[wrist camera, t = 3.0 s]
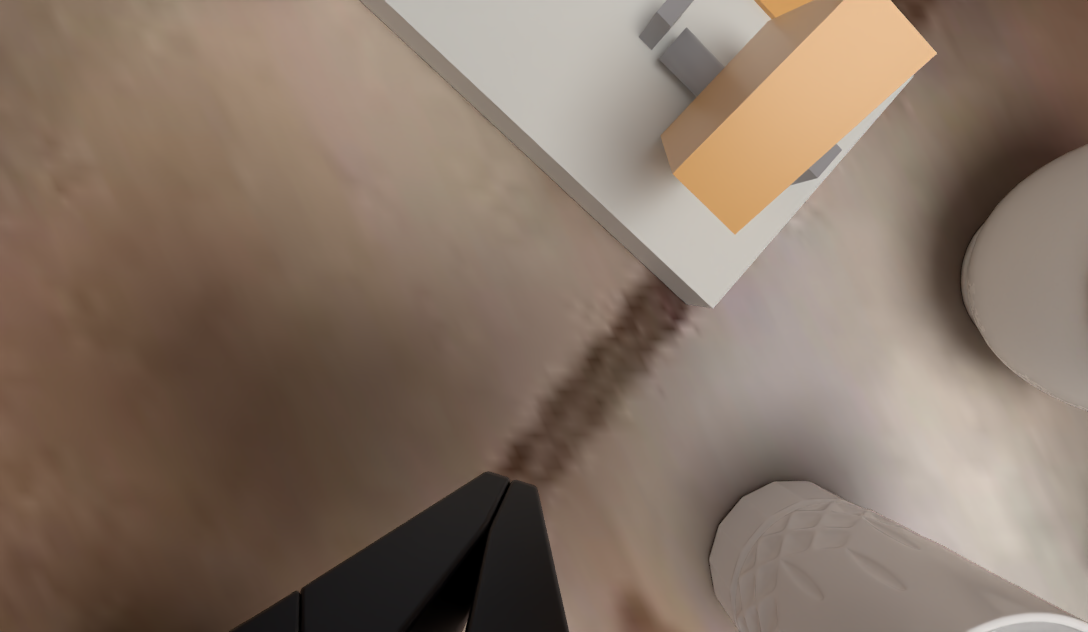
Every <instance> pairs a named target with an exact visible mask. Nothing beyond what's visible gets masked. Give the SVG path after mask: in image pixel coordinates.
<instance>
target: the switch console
mask: <svg viewBox="0 0 1088 632" xmlns="http://www.w3.org/2000/svg"><path fill="white" fill-rule="evenodd" d="M360 1H361V2H362V3H363V4H364V5H365V6H366V7H367V8H369V9H370V10H371V11H372V12H373V13H374V14H375V15H376V16H377V17H378V18H379V19H380V20H381V21H383V22H384V23H385V24H386V25H387V26H388V27H389V28H390V29H391V30H392V31H393V32H394V33H395V34H397V35H398V36H399V37H400V38H401V39H402V40H403V41H404V42H405V43H406V44H407V45H408V46H409V47H410V48H412V49H413V50H414V51H415V52H416V53H417V54H418V55H419V56H420V57H421V58H422V59H423V60H424V61H426V62H427V63H428V64H429V65H430V66H431V67H432V68H433V69H434V70H435V71H436V72H437V73H438V74H440V75H441V76H442V77H443V78H444V79H445V80H446V81H447V82H448V83H449V84H450V85H451V86H452V87H453V88H455V89H456V90H457V91H458V92H459V93H460V94H461V95H462V96H463V97H464V98H465V99H466V100H467V101H469V102H470V103H471V104H472V105H473V106H474V107H475V108H476V109H477V110H478V111H479V112H480V113H481V114H483V115H484V116H485V117H486V118H487V119H488V120H489V121H490V122H491V123H492V124H493V125H494V126H495V127H496V128H498V129H499V130H500V131H501V132H502V133H503V134H504V135H505V136H506V137H507V138H508V139H509V140H510V141H512V142H513V143H514V144H515V145H516V146H517V147H518V148H519V149H520V150H521V151H522V152H523V153H524V154H526V155H527V156H528V157H529V158H530V159H531V160H532V161H533V162H534V163H535V164H536V165H537V166H538V167H539V168H541V169H542V170H543V171H544V172H545V173H546V174H547V175H548V176H549V177H550V178H551V179H552V180H553V181H555V182H556V183H557V184H558V185H559V186H560V187H561V188H562V189H563V190H564V191H565V192H566V193H567V194H569V195H570V196H571V197H572V198H573V199H574V200H575V201H576V202H577V203H578V204H579V205H580V206H581V207H582V208H584V209H585V210H586V211H587V212H588V213H589V214H590V215H591V216H592V217H593V218H594V219H595V220H596V221H598V222H599V223H600V224H601V225H602V226H603V227H604V228H605V229H606V230H607V231H608V232H609V233H610V234H612V235H613V236H614V237H615V238H616V239H617V240H618V241H619V242H620V243H621V244H622V245H623V246H624V247H625V248H627V249H628V250H629V251H630V252H631V253H632V254H633V255H634V256H635V257H636V258H637V259H638V260H639V261H641V262H642V263H643V264H644V265H645V266H646V267H647V268H648V269H649V270H650V271H651V272H652V273H653V274H655V275H656V276H657V277H658V278H659V279H660V280H661V281H662V282H663V283H664V284H665V285H666V286H667V287H668V288H670V289H671V290H672V291H673V292H674V293H675V294H676V295H677V296H678V297H679V298H680V299H681V300H682V301H684V302H685V303H686V304H687V305H694V306H700V307H706V308H712V309H713V308H714V307H715V306H716V304H717V303H718V302H719V301H720V300H721V299H722V298H723V296H724V295H725V294H726V293H727V292H728V291H729V289H730V288H731V287H732V286H733V285H734V284H735V282H736V281H737V280H738V279H739V278H740V277H741V276H742V274H743V273H744V272H745V271H746V270H747V269H748V267H749V266H750V265H751V264H752V263H753V262H754V260H755V259H756V258H757V257H758V256H759V255H760V254H761V252H762V251H763V250H764V249H765V248H766V247H767V245H768V244H769V243H770V242H771V241H772V240H773V238H774V237H775V236H776V235H777V234H778V233H779V232H780V230H781V229H782V228H783V227H784V226H785V225H786V223H787V222H788V221H789V220H790V219H791V218H792V216H793V215H794V214H795V213H796V212H797V211H798V210H799V208H800V207H801V206H802V205H803V204H804V203H805V201H806V200H807V199H808V198H809V197H810V196H811V194H812V193H813V192H814V191H815V190H816V189H817V188H818V186H819V185H820V184H821V183H822V182H823V181H824V179H825V178H826V177H827V176H828V175H829V174H830V172H831V171H832V170H833V169H834V168H835V167H836V165H837V164H838V163H839V162H840V161H841V160H842V159H843V157H844V156H845V155H846V154H847V153H848V152H849V150H850V149H851V148H852V147H853V146H854V145H855V143H856V142H857V141H858V140H859V139H860V138H861V137H862V135H863V134H864V133H865V132H866V131H867V130H868V128H869V127H870V126H871V125H872V124H873V123H874V121H875V120H876V119H877V118H878V117H879V116H880V115H881V113H882V112H883V111H884V110H885V109H886V108H887V106H888V105H889V104H890V103H891V102H892V101H893V99H894V98H895V97H896V96H897V95H898V94H899V93H900V91H901V90H902V89H903V88H904V87H905V86H906V84H907V83H908V82H909V81H910V80H911V79H912V77H913V76H914V75H912V76H911V77H910V78H909V79H908V80H907V81H906V82H905V83H904V84H902V85H901V86H900V87H899V88H898V89H897V90H896V91H895V92H893V93H892V94H891V95H890V96H889V97H888V98H887V99H886V100H885V101H883V102H882V103H881V104H880V105H879V106H878V107H877V108H876V109H875V110H873V111H872V112H871V113H870V114H869V115H868V116H867V117H866V118H865V119H863V120H862V121H861V122H860V123H859V124H858V125H857V126H856V127H854V128H853V129H852V130H851V131H850V132H849V133H848V134H847V135H846V136H844V137H843V138H842V139H841V140H840V141H839V142H838V143H837V144H836V145H834V146H833V147H832V148H831V149H830V150H829V151H828V152H827V153H826V154H824V155H823V156H822V157H821V158H820V159H819V160H818V161H817V162H815V163H814V164H813V165H812V166H811V167H810V168H809V169H808V170H807V171H805V172H804V173H803V174H802V175H801V176H800V177H799V178H798V179H797V180H795V181H794V182H793V183H792V184H791V185H790V186H789V187H788V188H787V189H785V190H784V191H783V192H782V193H781V194H780V195H779V196H778V197H776V198H775V199H774V200H773V201H772V202H771V203H770V204H769V205H768V206H766V207H765V208H764V209H763V210H762V211H761V212H760V213H759V214H758V215H756V216H755V217H754V218H753V219H752V220H751V221H750V222H749V223H748V224H746V225H745V226H744V227H743V228H742V229H741V230H740V231H739V232H737V233H736V234H733V233H732V232H731V231H730V230H729V229H728V228H727V227H726V226H725V225H724V224H723V223H722V222H721V221H720V220H719V219H718V218H717V217H716V216H715V215H714V214H713V213H712V212H711V211H710V210H709V209H708V208H707V207H706V206H705V205H704V204H703V203H702V202H701V201H700V200H699V199H698V198H697V197H696V196H695V195H694V194H692V193H691V192H690V191H689V190H688V189H687V188H686V187H685V186H684V185H683V184H682V183H681V182H680V181H679V180H678V179H677V178H676V177H675V176H674V175H673V174H672V171H671V168H670V165H669V162H668V158H667V155H666V152H665V149H664V146H663V143H662V139H661V134H662V133H663V132H664V131H665V130H666V129H667V128H668V127H669V126H670V125H671V124H672V123H673V122H674V121H675V120H676V119H677V117H678V116H679V115H680V114H681V113H682V112H683V111H684V110H685V109H686V108H687V107H688V106H689V105H690V104H691V103H692V102H693V100H694V99H695V98H696V96H695V95H694V94H693V93H692V92H691V91H690V90H689V89H688V88H687V87H686V86H685V85H684V84H683V83H682V82H681V81H680V80H679V79H678V78H677V77H676V76H675V75H674V74H673V73H672V72H671V71H670V70H669V69H668V68H667V67H666V66H665V65H664V64H663V63H662V62H661V61H660V60H659V58H660V57H661V56H662V55H663V53H664V52H665V51H666V50H667V49H668V48H669V47H670V45H671V44H672V43H673V42H674V41H675V40H676V39H677V37H678V36H679V35H680V34H681V33H682V32H683V31H684V29H685V28H686V27H687V28H688V29H689V30H690V31H691V32H692V33H693V34H694V35H695V36H696V37H697V38H698V39H699V40H700V42H701V43H702V44H703V45H704V46H705V47H706V48H707V49H708V50H709V51H710V52H711V53H712V54H713V55H714V56H715V57H716V58H717V59H718V60H719V61H720V62H721V63H722V64H723V65H724V66H726V65H727V64H728V63H729V62H730V61H731V60H732V59H733V58H734V57H735V56H736V55H737V54H738V53H739V52H740V50H741V49H742V48H743V47H744V46H745V45H746V44H747V43H748V42H749V41H750V40H751V39H752V38H753V37H754V36H755V35H756V33H757V32H758V31H759V30H760V29H761V28H762V27H763V26H764V25H765V24H766V23H767V22H768V21H769V20H771V19H774V18H776V17H778V16H780V15H782V14H785V13H787V12H789V11H791V10H793V9H796V8H798V7H800V6H802V5H804V4H806V3H809V2H811V1H813V0H360Z"/></svg>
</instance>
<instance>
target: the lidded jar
mask: <svg viewBox="0 0 1088 632" xmlns="http://www.w3.org/2000/svg"><path fill="white" fill-rule="evenodd" d="M961 292H962V297H963V301H964V304H965V307H966V310H967V312H968V314H969V316H970V317H971V319H972V321H973V322H974V323H975V325H976V326H977V327H978V329H979V331H980V333H981V334H982V336H983V338H984V340H985V341H986V343H987V345H988V346H989V347H990V348H991V350H992V351H993V352H994V353H995V354H996V356H997V357H998V358H999V359H1000V360H1001V361H1002V362H1003V363H1004V364H1005V365H1006V366H1007V367H1008V368H1009V369H1011V370H1012V371H1013V372H1014V373H1015V374H1016V375H1018V376H1019V377H1020V378H1022V379H1023V380H1025V381H1026V382H1028V383H1029V384H1031V385H1032V386H1034V387H1036V388H1037V389H1039V390H1041V391H1042V392H1044V393H1046V394H1048V395H1050V396H1052V397H1054V398H1056V399H1058V400H1060V401H1062V402H1065V403H1067V404H1069V405H1071V406H1074V407H1077V408H1079V409H1082V410H1085V411H1088V144H1086V145H1084V146H1082V147H1079V148H1077V149H1075V150H1072V151H1070V152H1068V153H1066V154H1064V155H1062V156H1060V157H1059V158H1057V159H1055V160H1053V161H1051V162H1050V163H1048V164H1046V165H1045V166H1043V167H1041V168H1040V169H1038V170H1036V171H1035V172H1034V173H1032V174H1031V175H1030V176H1028V177H1027V178H1026V179H1024V180H1023V181H1022V182H1020V183H1019V184H1018V185H1017V186H1016V187H1015V188H1014V189H1012V190H1011V191H1010V192H1009V193H1008V194H1007V195H1006V196H1005V197H1004V198H1003V199H1002V200H1001V201H1000V202H999V203H998V205H997V206H996V208H995V209H994V210H993V212H992V213H991V214H990V216H989V217H988V219H987V220H986V222H985V223H984V224H983V225H982V226H981V227H980V228H979V229H978V231H977V232H976V233H975V235H974V236H973V238H972V240H971V242H970V244H969V245H968V248H967V250H966V253H965V256H964V259H963V264H962V269H961Z"/></svg>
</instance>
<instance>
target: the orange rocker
mask: <svg viewBox="0 0 1088 632" xmlns="http://www.w3.org/2000/svg"><path fill="white" fill-rule="evenodd" d="M936 54H937V53H936V52H935V50H934V49H933V48H932V47H931V46H930V45H929V44H928V43H927V41H926V40H925V39H924V38H923V37H922V36H921V35H920V33H919V32H918V31H917V30H916V29H915V28H914V27H913V25H912V24H911V23H910V22H909V21H908V20H907V19H906V17H905V16H904V15H903V14H902V13H901V12H900V11H899V9H898V8H897V7H896V6H895V5H894V4H893V3H892V2H891V0H813V1H811V2H809V3H806V4H804V5H802V6H800V7H798V8H796V9H793V10H791V11H789V12H787V13H785V14H782V15H780V16H778V17H776V18H774V19H771V20H769V21H768V22H767V23H766V24H765V25H764V26H763V27H762V28H761V29H760V30H759V31H758V32H757V33H756V35H755V36H754V37H753V38H752V39H751V40H750V41H749V42H748V43H747V44H746V45H745V46H744V47H743V48H742V49H741V50H740V52H739V53H738V54H737V55H736V56H735V57H734V58H733V59H732V60H731V61H730V62H729V63H728V64H727V65H726V66H724V65H723V64H722V63H721V62H720V61H719V60H718V59H717V58H716V57H715V56H714V55H713V54H712V53H711V52H710V51H709V50H708V49H707V48H706V47H705V46H704V45H703V44H702V43H701V42H700V40H699V39H698V38H697V37H696V36H695V35H694V34H693V33H692V32H691V31H690V30H689V29H688V28H687V27H686V28H685V29H684V31H683V32H682V33H681V34H680V35H679V36H678V37H677V39H676V40H675V41H674V42H673V43H672V44H671V45H670V47H669V48H668V49H667V50H666V51H665V52H664V53H663V55H662V56H661V57H660V58H659V60H660V61H661V62H662V63H663V64H664V65H665V66H666V67H667V68H668V69H669V70H670V71H671V72H672V73H673V74H674V75H675V76H676V77H677V78H678V79H679V80H680V81H681V82H682V83H683V84H684V85H685V86H686V87H687V88H688V89H689V90H690V91H691V92H692V93H693V94H694V95H695V96H696V98H695V99H694V100H693V102H692V103H691V104H690V105H689V106H688V107H687V108H686V109H685V110H684V111H683V112H682V113H681V114H680V115H679V116H678V117H677V119H676V120H675V121H674V122H673V123H672V124H671V125H670V126H669V127H668V128H667V129H666V130H665V131H664V132H663V133H662V134H661V139H662V143H663V146H664V149H665V152H666V155H667V158H668V162H669V165H670V168H671V171H672V174H673V175H674V176H675V177H676V178H677V179H678V180H679V181H680V182H681V183H682V184H683V185H684V186H685V187H686V188H687V189H688V190H689V191H690V192H691V193H692V194H694V195H695V196H696V197H697V198H698V199H699V200H700V201H701V202H702V203H703V204H704V205H705V206H706V207H707V208H708V209H709V210H710V211H711V212H712V213H713V214H714V215H715V216H716V217H717V218H718V219H719V220H720V221H721V222H722V223H723V224H724V225H725V226H726V227H727V228H728V229H729V230H730V231H731V232H732V233H733V234H736V233H737V232H739V231H740V230H741V229H742V228H743V227H744V226H745V225H746V224H748V223H749V222H750V221H751V220H752V219H753V218H754V217H755V216H756V215H758V214H759V213H760V212H761V211H762V210H763V209H764V208H765V207H766V206H768V205H769V204H770V203H771V202H772V201H773V200H774V199H775V198H776V197H778V196H779V195H780V194H781V193H782V192H783V191H784V190H785V189H787V188H788V187H789V186H790V185H791V184H792V183H793V182H794V181H795V180H797V179H798V178H799V177H800V176H801V175H802V174H803V173H804V172H805V171H807V170H808V169H809V168H810V167H811V166H812V165H813V164H814V163H815V162H817V161H818V160H819V159H820V158H821V157H822V156H823V155H824V154H826V153H827V152H828V151H829V150H830V149H831V148H832V147H833V146H834V145H836V144H837V143H838V142H839V141H840V140H841V139H842V138H843V137H844V136H846V135H847V134H848V133H849V132H850V131H851V130H852V129H853V128H854V127H856V126H857V125H858V124H859V123H860V122H861V121H862V120H863V119H865V118H866V117H867V116H868V115H869V114H870V113H871V112H872V111H873V110H875V109H876V108H877V107H878V106H879V105H880V104H881V103H882V102H883V101H885V100H886V99H887V98H888V97H889V96H890V95H891V94H892V93H893V92H895V91H896V90H897V89H898V88H899V87H900V86H901V85H902V84H904V83H905V82H906V81H907V80H908V79H909V78H910V77H911V76H912V75H914V74H915V73H916V72H917V71H918V70H919V69H920V68H921V67H922V66H924V65H925V64H926V63H927V62H928V61H929V60H930V59H931V58H932V57H934V56H935V55H936Z"/></svg>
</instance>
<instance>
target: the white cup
mask: <svg viewBox="0 0 1088 632" xmlns="http://www.w3.org/2000/svg"><path fill="white" fill-rule="evenodd" d="M709 563H710V569H711V575H712V581H713V587H714V593H715V596H716V597H717V599H718V600H719V602H720V604H721V605H722V606H723V608H724V609H725V611H726V612H727V614H728V615H729V617H730V618H731V620H732V621H733V623H734V624H735V626H736V627H737V629H738V631H739V632H1088V623H1087V622H1085V621H1083V620H1081V619H1080V618H1078V617H1076V616H1074V615H1072V614H1070V613H1068V612H1066V611H1064V610H1062V609H1061V608H1059V607H1057V606H1055V605H1053V604H1051V603H1049V602H1047V601H1046V600H1044V599H1042V598H1040V597H1038V596H1036V595H1034V594H1032V593H1031V592H1029V591H1027V590H1025V589H1023V588H1021V587H1019V586H1017V585H1015V584H1013V583H1011V582H1009V581H1007V580H1006V579H1004V578H1002V577H1000V576H998V575H996V574H994V573H992V572H991V571H989V570H987V569H985V568H983V567H981V566H979V565H977V564H976V563H974V562H972V561H970V560H968V559H966V558H965V557H963V556H961V555H959V554H957V553H956V552H954V551H952V550H950V549H948V548H947V547H945V546H943V545H941V544H939V543H937V542H935V541H933V540H930V539H928V538H926V537H923V536H921V535H919V534H917V533H916V532H914V531H912V530H910V529H909V528H907V527H905V526H903V525H901V524H899V523H897V522H894V521H892V520H890V519H888V518H886V517H884V516H882V515H880V514H879V513H877V512H875V511H873V510H871V509H866V508H862V507H859V506H857V505H855V504H853V503H851V502H849V501H847V500H845V499H843V498H842V497H840V496H838V495H836V494H834V493H832V492H830V491H828V490H826V489H824V488H822V487H820V486H818V485H816V484H814V483H812V482H810V481H774V482H772V483H770V484H768V485H766V486H764V487H762V488H760V489H758V490H756V491H754V492H752V493H750V494H748V495H746V496H744V497H742V498H741V499H740V500H739V502H738V503H737V504H736V505H735V506H734V508H733V509H732V510H731V511H730V512H729V514H728V515H727V516H726V517H725V518H724V520H723V521H722V522H721V523H720V524H719V526H718V530H717V533H716V537H715V540H714V544H713V547H712V551H711V554H710V558H709Z"/></svg>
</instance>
